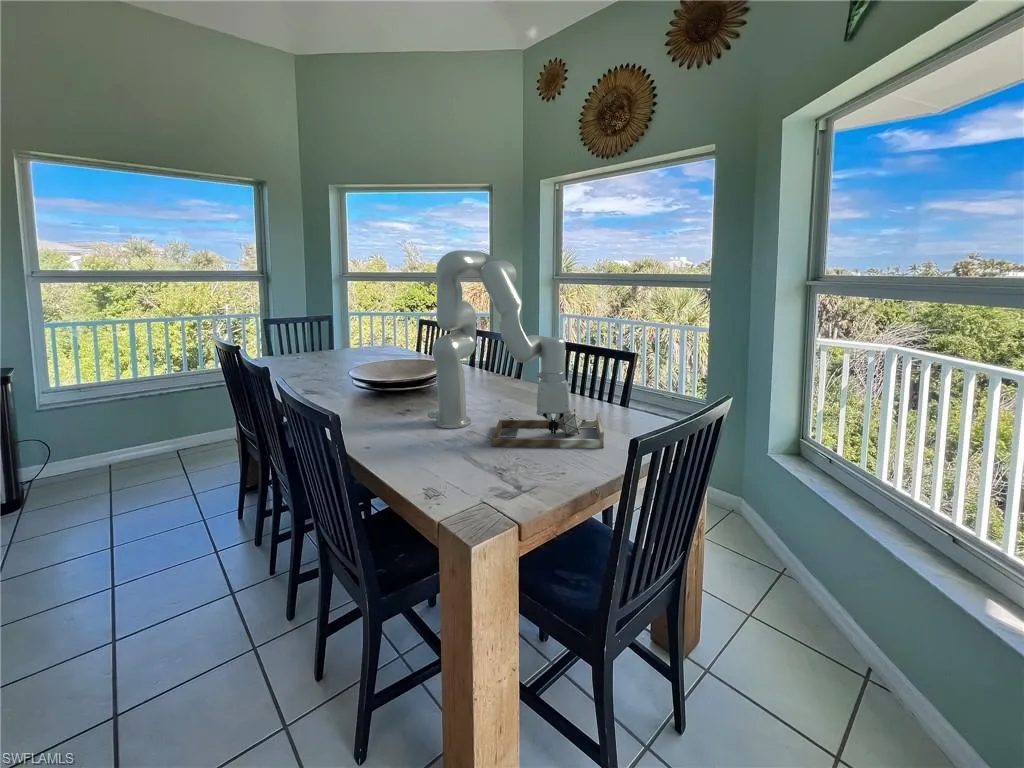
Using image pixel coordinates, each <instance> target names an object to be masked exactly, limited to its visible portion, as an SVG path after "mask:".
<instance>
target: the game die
mask: <svg viewBox="0 0 1024 768" xmlns="http://www.w3.org/2000/svg"><path fill="white" fill-rule="evenodd" d="M583 421H586V419H583V418H581V416H580V415H579V414H578V413H577V412H576V408H574V409H573V411H570V415H568V416H563V417H562V418H561V419H560V421H559V423H558V426H559V427H560V428H559V429H561V430H562V432H563V433H564V434H565V435H564V436H565V437H568V435H574V434H577V435H579V434H580V430H581V428H580V427H581V425H582V423H583Z"/></svg>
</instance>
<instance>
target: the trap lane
mask: <svg viewBox="0 0 1024 768" xmlns="http://www.w3.org/2000/svg"><path fill="white" fill-rule="evenodd" d="M600 414H601V413H599V412H596V417H595V418H596V420H592V419H591V420H590V419H589V420H588V419H587V420H586V419H585V420H586V421H583V423H582V425H581V427H596V428H595V429H596V433H598V434H597V438H540V437H539V438H537V437H536V438H530V437H528V438H527V437H525V438H524V437H523V438H521V437H520V438H519V437H517V435H518V432H519V428H520V429H521V427H522V429H524V428H523V427H529V428H528V429H549V422H548V420H547V419H499V420H498V422H497V425H496V427H495V429H494V431H493V434H492V435H491V438H490V446H491V448H493V447H494V448H546V449H547V448H553V449H554V448H556V449H557V448H558V447H559V448H562V449H563V448H564V449H567V448H568V449H569V448H570V449H604V448H605V446H604V445H605V444H604V443H605V438H604V437H605V431H604V427H603V423H602V417H601V415H600ZM559 421H560V420H559ZM559 421H558V423H559ZM553 423H554V419H553ZM502 427H503V428H502ZM504 427H506V428H504ZM507 427H508V428H507ZM509 427H510V428H509ZM511 427H513V428H511ZM515 427H516V428H515ZM517 427H518V428H517ZM540 427H542V428H540ZM553 429H554V427H553ZM558 429H561V428H560V427H559V426H558ZM598 438H599V439H598Z"/></svg>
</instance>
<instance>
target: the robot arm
mask: <svg viewBox="0 0 1024 768" xmlns="http://www.w3.org/2000/svg"><path fill="white" fill-rule="evenodd" d="M517 275H518V273H517V270H516V267H515V266H514V265H513V264H512V263H511V262H510V261H508V260H504V259H502V258H499V257H496V256H494V255H491V254H488V253H485V252H482V251H478V250H467V249H465V250H464V249H463V250H462V249H461V250H460V249H459V250H453V251H449V252H447V253H446V254H445V255H443V256H442V257H441V258H440V259H439V261H438V263H437V266H436V270H435V278H436V322H437V326H438V327H439V328H440V330H443V331H445V332H450V331H451V332H452V333H448V334H444V335H441V336H440V337H438V338H437V339H435V341H434V342H433V345H432V356H433V360H434V364H435V370H436V371H435V372H436V383H437V399H438V403H437V404H438V410H437V411H428V412H427V417H428V418H429V419H436V420H435V426H436V427H438V428H441V429H460V427H461V428H464V427H468V426H470V425H471V423H472V419H471V417H469V416H467V403H466V402H467V401H466V382H465V380H466V379H465V371H464V367H463V365H462V363H461V360H464V359H466V358H469V357H471V356H472V355H473V354H474V352H475V349H476V343H477V315H476V310H475V308H474V306H473V305H472V304H471V303H470V302H468V301H464V300H463V294H464V293H463V286H462V283H461V281H460V279H461V278H478V279H480V280H481V282H482V284H483V286H484V288H485V290H486V292H487V294H488V296H489V298H490V300H491V302H492V304H493V306H494V308H495V310H496V312H497V315H498V325H499V332H500V336H501V339H502V341H503V342H504V345H505V347H506V348H507V351H508V352H509V355H511V357H512V358H513V359H514V360H515V361H517V362H518V363H528V362H531V361H534V360H536V359H539V358H540V369H541V370H540V372H537V373H536V378H538V379H539V378H540V380H539V381H538V384H537V392H536V415H538V416H541V417H544V418H545V420H548V422H549V428H548V431H550V434H551V435H552V434H554V435H556V434H557V432H558V431H559V428H558V421H559V420H560V419H561V418H562V417H563V416H568V415H570V412H571V410H570V407H571V406H570V389H569V382H568V380H566V340H565V338H562V337H558V336H548V337H547V336H543V335H539V334H530V335H528V336H526V333H525V331H524V330H523V327H522V325H521V321H520V313H521V310H522V307H523V300H522V298H521V296H520V294H519V292H518V290H517V289H516V286H515V284H514V283H516V280H517V278H518V276H517ZM552 414H555V415H554V418H553V417H552ZM553 420H554V423H553ZM553 427H554V428H553Z"/></svg>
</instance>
